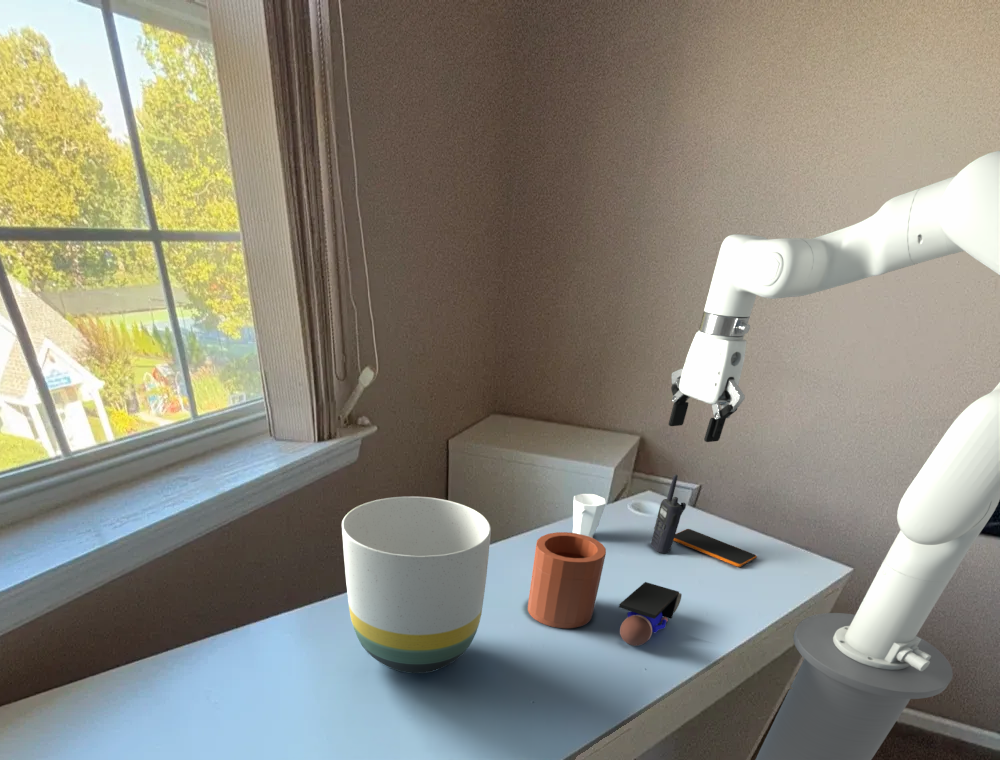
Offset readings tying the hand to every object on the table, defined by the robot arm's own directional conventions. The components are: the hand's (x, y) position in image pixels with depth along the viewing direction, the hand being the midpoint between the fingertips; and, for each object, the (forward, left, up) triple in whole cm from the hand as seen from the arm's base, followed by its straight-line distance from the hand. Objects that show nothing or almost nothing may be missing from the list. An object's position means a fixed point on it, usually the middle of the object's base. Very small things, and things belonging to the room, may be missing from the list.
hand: (692, 433), depth 118 cm
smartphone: (-4, -10, -23) cm, 25 cm away
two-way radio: (0, 0, -23) cm, 23 cm away
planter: (-18, +64, -23) cm, 70 cm away
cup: (+10, +14, -23) cm, 29 cm away
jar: (-14, +35, -23) cm, 44 cm away
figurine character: (-25, +25, -23) cm, 42 cm away
